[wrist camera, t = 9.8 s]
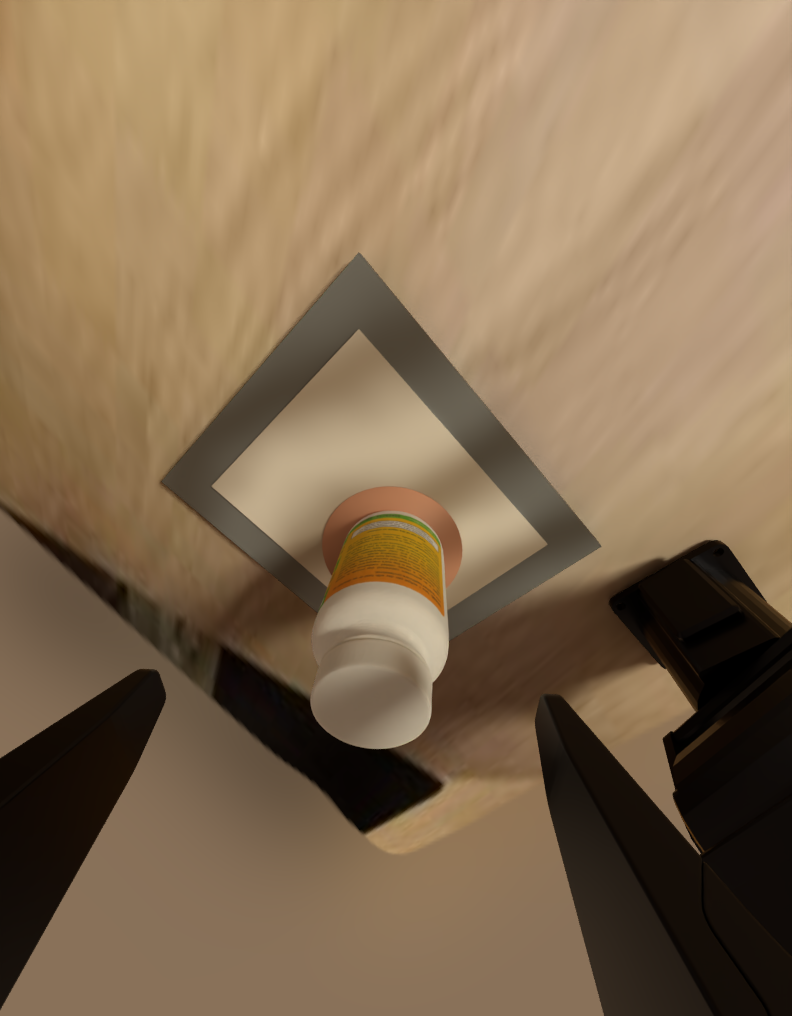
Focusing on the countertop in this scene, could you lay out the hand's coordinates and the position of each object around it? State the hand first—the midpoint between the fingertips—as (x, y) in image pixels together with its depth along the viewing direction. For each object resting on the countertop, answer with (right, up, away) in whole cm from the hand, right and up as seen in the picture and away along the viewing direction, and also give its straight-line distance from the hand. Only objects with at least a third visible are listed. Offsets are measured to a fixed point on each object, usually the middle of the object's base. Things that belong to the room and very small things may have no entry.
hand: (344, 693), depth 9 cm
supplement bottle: (+1, +2, +12) cm, 13 cm away
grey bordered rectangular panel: (0, +4, +12) cm, 13 cm away
